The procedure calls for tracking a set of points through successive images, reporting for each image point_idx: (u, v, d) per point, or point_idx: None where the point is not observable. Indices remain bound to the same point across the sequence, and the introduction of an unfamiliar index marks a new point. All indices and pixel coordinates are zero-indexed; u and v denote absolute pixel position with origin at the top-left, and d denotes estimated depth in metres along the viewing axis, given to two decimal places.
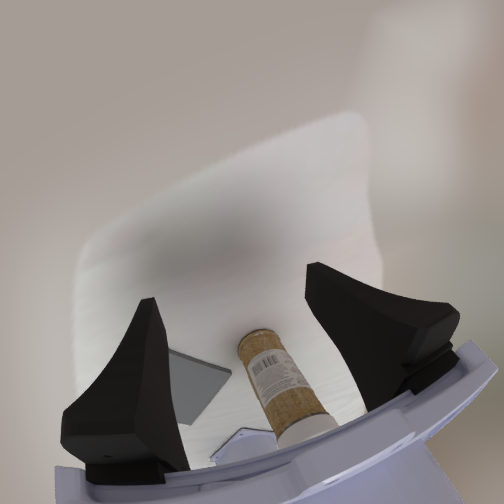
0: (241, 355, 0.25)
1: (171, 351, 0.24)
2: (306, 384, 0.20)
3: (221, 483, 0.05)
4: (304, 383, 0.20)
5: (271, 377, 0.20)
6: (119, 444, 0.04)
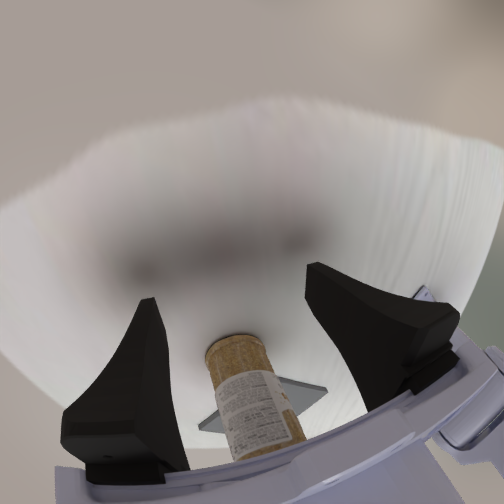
0: None
1: (216, 414, 0.23)
2: (244, 448, 0.11)
3: (221, 483, 0.05)
4: (242, 447, 0.11)
5: None
6: (119, 444, 0.04)
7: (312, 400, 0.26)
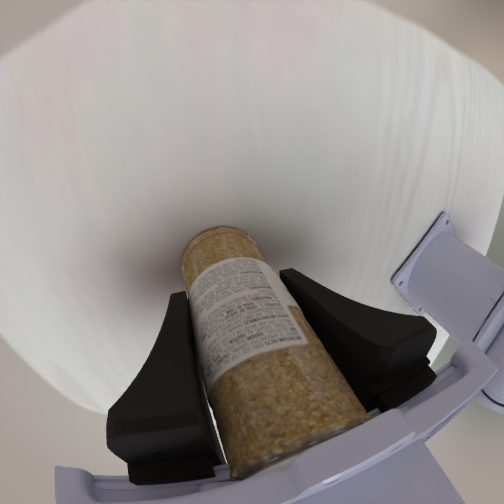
0: None
1: None
2: (222, 361, 0.07)
3: (221, 483, 0.05)
4: (218, 360, 0.07)
5: None
6: (176, 438, 0.05)
7: None
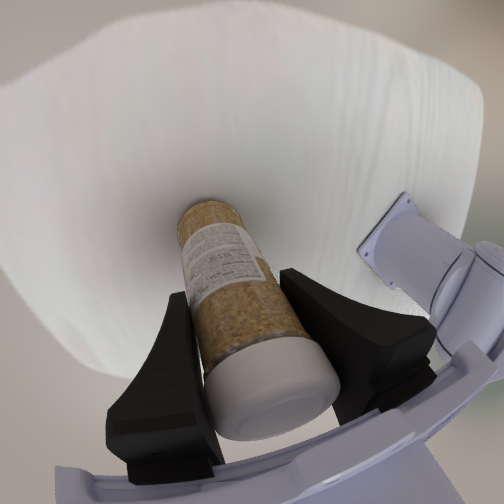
0: None
1: None
2: (204, 291, 0.11)
3: (221, 483, 0.05)
4: (201, 290, 0.11)
5: None
6: (176, 439, 0.05)
7: None
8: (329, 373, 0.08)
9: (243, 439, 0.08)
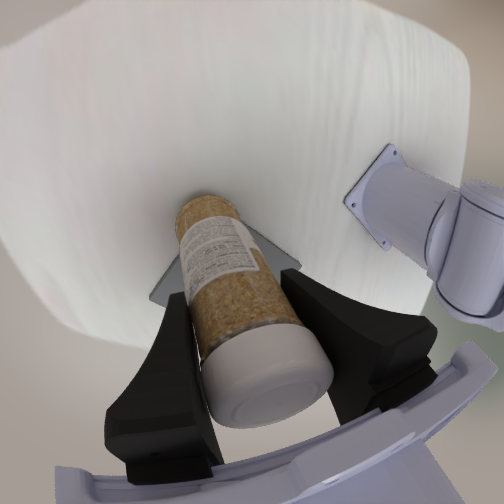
0: None
1: (167, 271, 0.22)
2: (200, 282, 0.11)
3: (221, 483, 0.05)
4: (197, 282, 0.11)
5: None
6: (174, 439, 0.05)
7: None
8: (321, 358, 0.08)
9: (240, 426, 0.09)
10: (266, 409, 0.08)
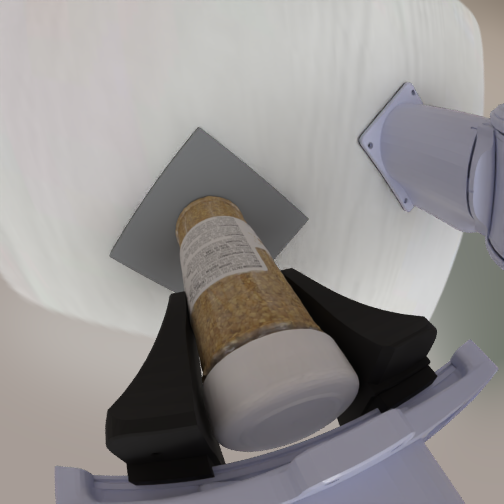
0: None
1: (132, 216, 0.16)
2: (200, 286, 0.10)
3: (221, 482, 0.05)
4: (197, 286, 0.10)
5: None
6: (175, 439, 0.05)
7: (285, 229, 0.19)
8: (345, 368, 0.06)
9: (251, 449, 0.07)
10: (281, 430, 0.07)
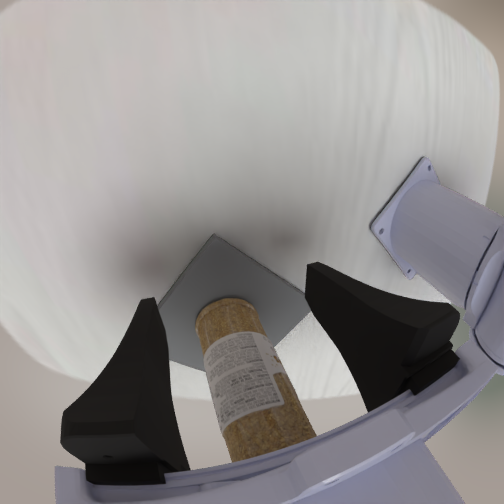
0: None
1: None
2: (230, 415, 0.11)
3: (221, 483, 0.05)
4: (228, 413, 0.11)
5: None
6: (119, 444, 0.04)
7: (295, 315, 0.21)
8: None
9: None
10: None
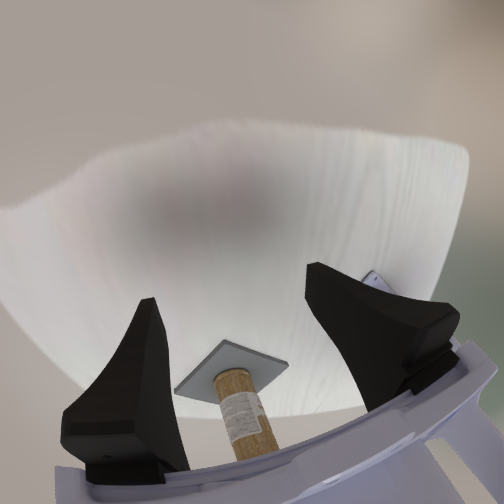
0: None
1: (187, 378, 0.28)
2: (236, 436, 0.21)
3: (221, 483, 0.05)
4: (234, 435, 0.22)
5: None
6: (119, 444, 0.04)
7: (274, 372, 0.31)
8: None
9: None
10: None
